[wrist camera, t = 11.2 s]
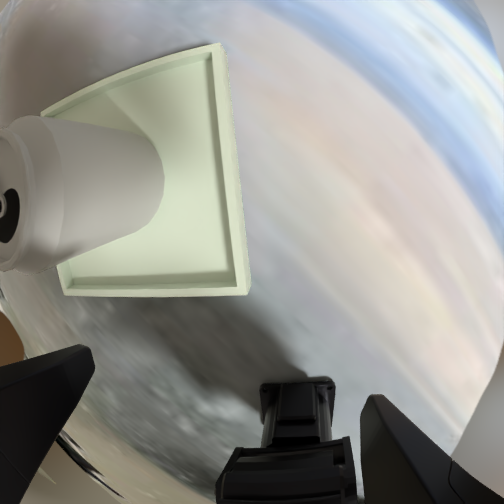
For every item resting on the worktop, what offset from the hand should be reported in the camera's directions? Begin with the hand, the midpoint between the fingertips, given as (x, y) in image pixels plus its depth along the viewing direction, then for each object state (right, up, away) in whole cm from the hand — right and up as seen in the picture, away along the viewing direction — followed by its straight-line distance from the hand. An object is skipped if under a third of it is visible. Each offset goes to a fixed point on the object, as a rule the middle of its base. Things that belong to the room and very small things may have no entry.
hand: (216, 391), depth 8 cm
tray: (-8, +9, +12) cm, 18 cm away
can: (-8, +9, +12) cm, 17 cm away
